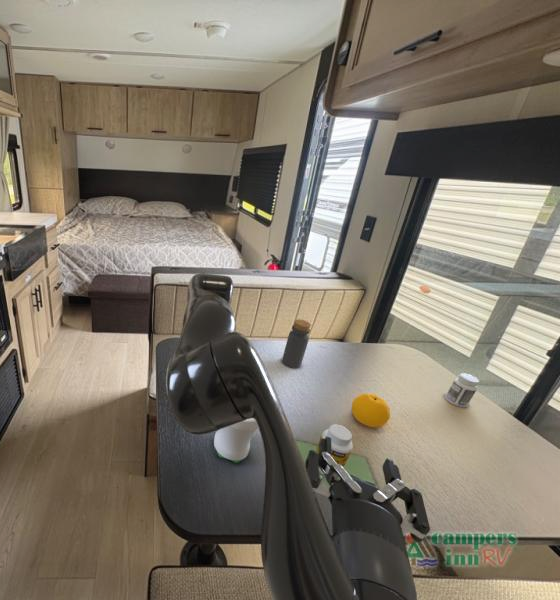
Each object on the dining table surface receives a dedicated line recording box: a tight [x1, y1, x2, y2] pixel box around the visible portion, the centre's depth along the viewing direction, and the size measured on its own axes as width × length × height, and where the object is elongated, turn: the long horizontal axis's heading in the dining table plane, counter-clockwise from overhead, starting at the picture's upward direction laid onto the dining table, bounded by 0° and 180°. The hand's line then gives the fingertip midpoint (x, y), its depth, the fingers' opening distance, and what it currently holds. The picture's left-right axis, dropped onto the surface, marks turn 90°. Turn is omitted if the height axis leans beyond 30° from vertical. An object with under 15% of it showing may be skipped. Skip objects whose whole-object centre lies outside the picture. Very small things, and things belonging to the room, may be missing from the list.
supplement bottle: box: [315, 423, 354, 474], centre depth 62 cm, size 6×6×10 cm
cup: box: [213, 418, 259, 464], centre depth 64 cm, size 11×11×14 cm
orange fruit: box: [351, 393, 391, 428], centre depth 76 cm, size 8×8×8 cm
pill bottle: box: [445, 372, 480, 408], centre depth 84 cm, size 5×5×8 cm
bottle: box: [281, 319, 312, 369], centre depth 96 cm, size 6×6×15 cm
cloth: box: [295, 439, 377, 487], centre depth 64 cm, size 18×10×1 cm, turn 74°
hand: (355, 451), depth 49 cm, fingers open, 8 cm apart
